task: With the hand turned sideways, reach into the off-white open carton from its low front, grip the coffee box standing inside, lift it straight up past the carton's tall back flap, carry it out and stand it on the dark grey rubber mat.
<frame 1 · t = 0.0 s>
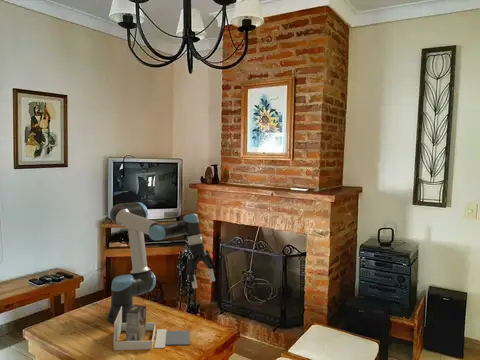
hand: (204, 284, 192), 28 cm above the table, tool tilted 20°, fingers open, 13 cm apart
coffee box: (135, 339, 188), resting in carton
mat: (177, 338, 191), on the table
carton: (135, 339, 188), on the table
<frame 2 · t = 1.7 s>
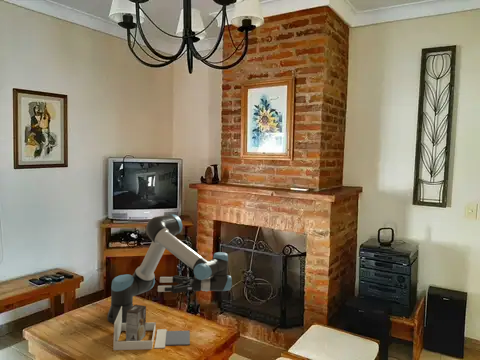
hand: (158, 284, 188), 28 cm above the table, tool horizontal, fingers open, 13 cm apart
nothing on the table moved.
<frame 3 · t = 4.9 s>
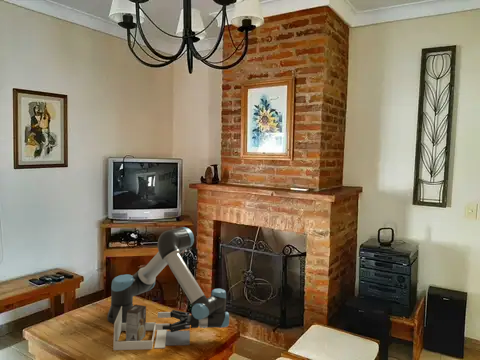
hand: (156, 320, 189), 9 cm above the table, tool horizontal, fingers open, 13 cm apart
nothing on the table moved.
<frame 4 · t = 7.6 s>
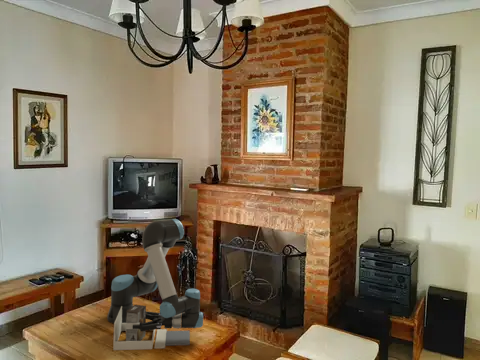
hand: (127, 321, 187), 10 cm above the table, tool horizontal, fingers closed on coffee box, 10 cm apart
coffee box: (135, 339, 188), resting in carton, touching gripper
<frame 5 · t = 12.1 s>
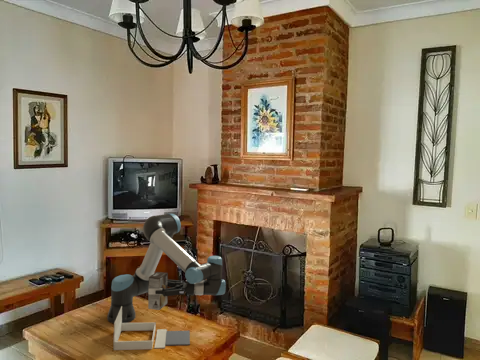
hand: (149, 287, 186), 27 cm above the table, tool horizontal, fingers closed on coffee box, 10 cm apart
coffee box: (157, 306, 187), point 17 cm above the table, touching gripper
when the fingers open (11 cm above the table, at t = 16.3 s): coffee box drops 1 cm, resting on mat.
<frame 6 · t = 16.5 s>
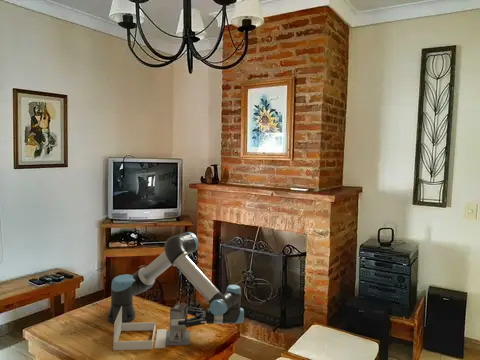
hand: (171, 316, 190), 12 cm above the table, tool horizontal, fingers open, 12 cm apart
coffee box: (178, 337, 191), resting on mat
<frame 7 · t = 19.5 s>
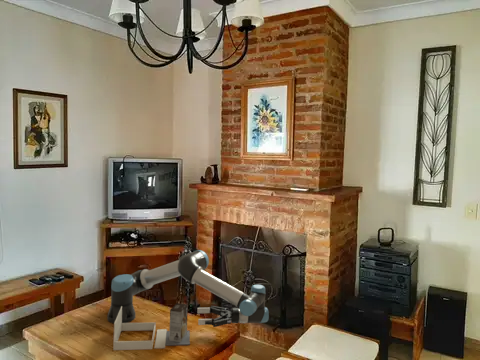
hand: (197, 316, 192), 12 cm above the table, tool horizontal, fingers open, 13 cm apart
nothing on the table moved.
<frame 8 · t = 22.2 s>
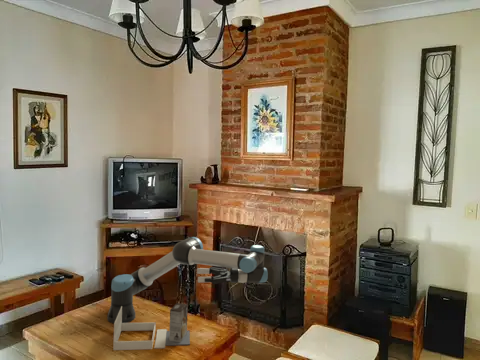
hand: (197, 275, 193), 32 cm above the table, tool horizontal, fingers open, 13 cm apart
nothing on the table moved.
at the end: coffee box inside the target area (0.2 cm from its centre), resting on mat; coffee box tilted 0°; the gripper is holding nothing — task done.
